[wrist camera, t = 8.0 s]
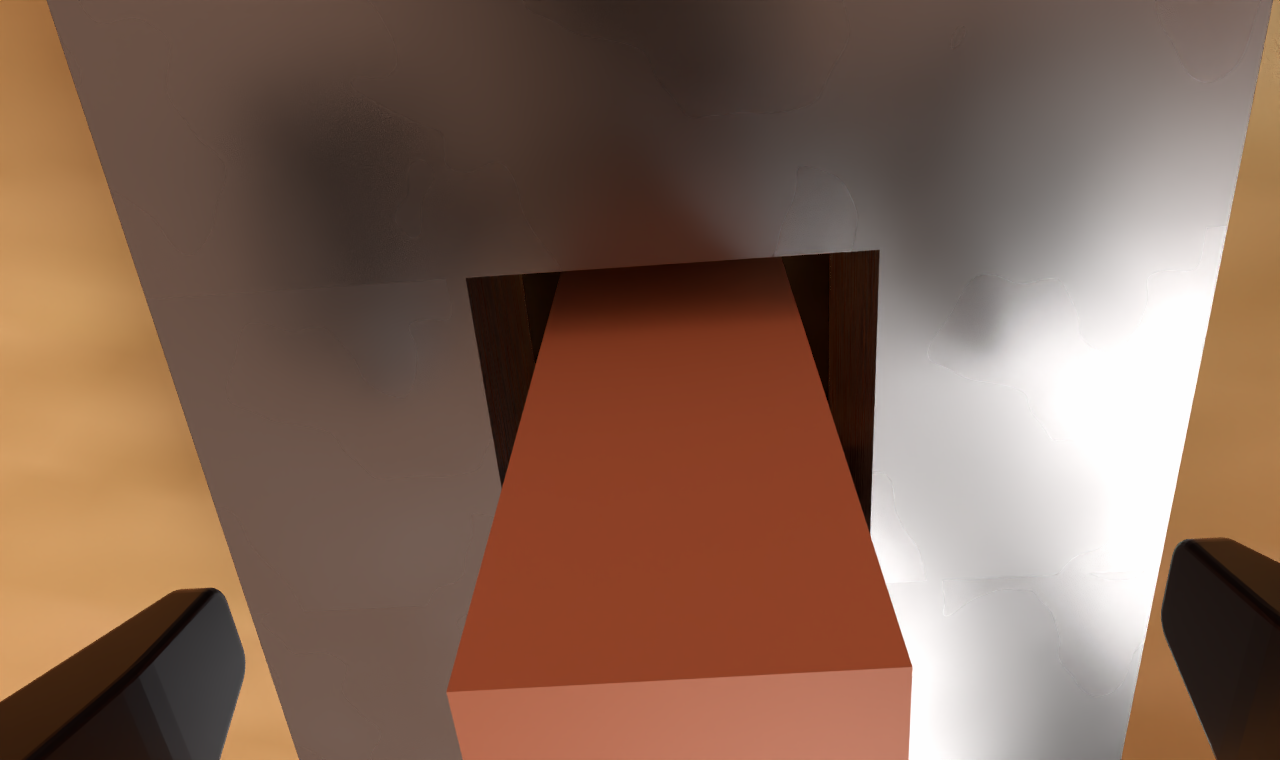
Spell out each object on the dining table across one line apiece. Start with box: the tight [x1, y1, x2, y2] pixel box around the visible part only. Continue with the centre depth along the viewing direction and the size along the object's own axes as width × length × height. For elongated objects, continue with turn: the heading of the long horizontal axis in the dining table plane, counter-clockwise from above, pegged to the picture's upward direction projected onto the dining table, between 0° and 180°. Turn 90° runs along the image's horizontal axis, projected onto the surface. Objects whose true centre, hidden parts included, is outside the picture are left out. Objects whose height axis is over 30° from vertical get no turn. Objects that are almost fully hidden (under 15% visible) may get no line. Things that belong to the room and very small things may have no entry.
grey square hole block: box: [47, 0, 1273, 760], centre depth 13 cm, size 12×12×4 cm
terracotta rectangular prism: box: [446, 256, 913, 760], centre depth 11 cm, size 3×3×9 cm
